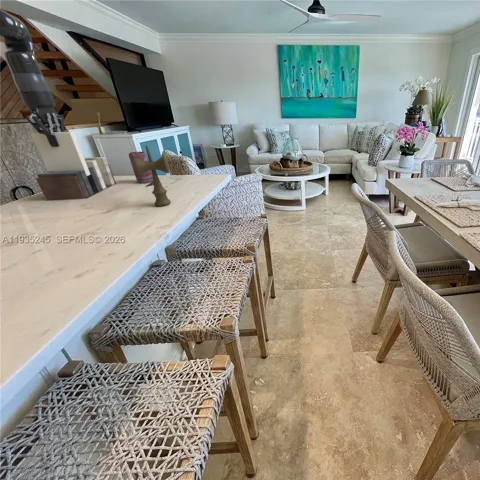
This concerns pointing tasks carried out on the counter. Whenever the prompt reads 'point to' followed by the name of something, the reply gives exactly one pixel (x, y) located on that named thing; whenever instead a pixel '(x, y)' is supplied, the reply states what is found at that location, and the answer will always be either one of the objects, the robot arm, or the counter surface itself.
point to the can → (145, 176)
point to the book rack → (77, 181)
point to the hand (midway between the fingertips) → (58, 146)
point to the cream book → (61, 152)
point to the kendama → (154, 175)
